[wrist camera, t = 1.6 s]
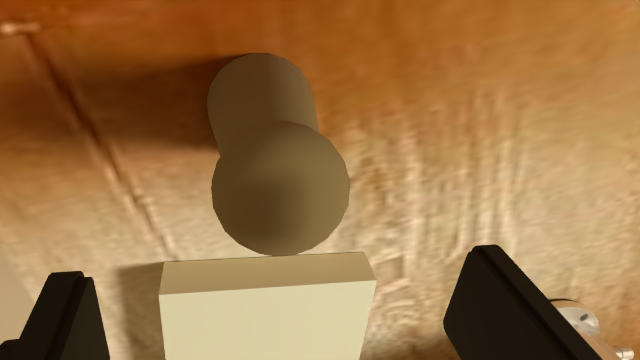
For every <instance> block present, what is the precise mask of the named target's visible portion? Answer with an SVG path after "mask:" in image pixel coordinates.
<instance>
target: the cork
mask: <svg viewBox="0 0 640 360" xmlns="http://www.w3.org/2000/svg"><path fill="white" fill-rule="evenodd" d="M207 110H208V118H209V121H210V124H211V127H212V131H213V134H214V137H215V140H216V143H217V147H218V150H219V153H220V156H221V157H220V158H219V160H218V161H217V164H216V168H215V171H214V175H213V178H212V187H211V190H212V200H213V208H214V210H215V212H216V215H217V217H218V219H219V220H220V222H221V224H222V226H223V228H224V230H225V232H227V233H228V234H229V235H230V236H231V237H232V238H233V239H234V240H235V241H236V242H237V243H239V244H240V245H242V246H244V247H246V248H248V249H250V250H253V251H255V252H257V253H259V254H265V255H271V256H286V255H295V254H298V253H301V252H304V251H307V250H309V249H312V248H314V247H315V246H317V245H318V244H320V243H321V242H323V241H324V240H326V239H327V238H328V237H329V235H330V234H331V233H332V232H333V231H334V230H335V229H336V228H337V226H338V225H339V223H340V222H341V220H342V217H343V215H344V213H345V211H346V209H347V206H348V201H349V191H350V182H349V176H348V173H347V169H346V166H345V162H344V160H343V159H342V157H341V155H340V154H339V153H338V151H337V150H336V148H335V147H334V146H333V144H332V143H331V142H330V140H328V139H327V138H325V137H324V136H322V135H321V134H320V133H319V127H318V122H317V117H316V111H315V106H314V100H313V96H312V93H311V89H310V86H309V82H308V81H307V79H306V78H305V77H304V75H303V74H302V72H301V71H300V69H299V68H297V67H296V66H294V65H293V64H292V63H290V62H289V61H288V60H286V59H284V58H281V57H278V56H275V55H272V54H269V53H251V54H248V55H245V56H242V57H239V58H236V59H234V60H232V61H231V62H230V63H228V64H227V65H226V66H224V67H223V68H222V69H220V71H219V72H218V74H217V75H216V77H215V78H214V80H213V81H212V83H211V84H210V88H209V92H208V96H207Z"/></svg>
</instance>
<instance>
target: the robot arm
mask: <svg viewBox="0 0 640 360" xmlns="http://www.w3.org/2000/svg"><path fill="white" fill-rule="evenodd" d="M443 325H444V330H445V332H446V334H447V336H448V337H449V339H450V341H451V343H452V344H453V346H454V348H455V349H456V351H457V353H458V355H459V356H460V358H461V360H631V359H632V358H633V356H634V354H633V350H632V349H631V348H630V347H629V346H628V345H617V346H613V347H609V345H608V344H607V343H606V342H605V341H604V340H603V339H602V338H601V337H600V336H599V335H598V334H599V322H598V320H597V317H596V316H595V315H594V314H593V313H592V312H591V311H590V310H589V309H588V308H587V307H586V306H584V305H583V304H581V303H578V302H574V301H564V300H563V301H552V302H550V301H549V300H548V299H547V298H546V297H545V296H544V294H543V293H542V292H541V291H540V290H539V289H538V288H537V287H536V286H535V285H534V283H533V282H532V281H531V280H530V279H529V278H528V277H527V276H526V275H525V274H524V272H523V271H522V270H521V269H520V268H519V267H518V266H517V265H516V264H515V263H514V261H513V260H512V259H511V258H510V257H509V256H508V255H507V254H506V253H505V252H504V250H503V249H502V248H501V247H499V246H498V245H480V246H475V247H474V248H473V249H472V251H471V252H469V253H468V254H467V257H466V259H465V262H464V265H463V267H462V270H461V273H460V276H459V278H458V281H457V284H456V287H455V289H454V292H453V295H452V297H451V300H450V303H449V306H448V308H447V311H446V314H445V316H444V320H443ZM0 360H110V355H109V350H108V346H107V341H106V336H105V332H104V327H103V322H102V318H101V313H100V308H99V304H98V299H97V294H96V290H95V285H94V281H93V278H92V277H84V274H83V272H82V271H71V272H56V273H51V274H50V275H49V276H48V278H47V280H46V282H45V284H44V287H43V289H42V291H41V293H40V295H39V297H38V299H37V301H36V304H35V306H34V308H33V310H32V312H31V314H30V316H29V319H28V321H27V323H26V325H25V327H24V329H23V332H22V334H21V336H20V338H19V339H14V340H7V341H4V342H3V343H2V344H1V345H0Z"/></svg>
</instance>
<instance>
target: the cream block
mask: <svg viewBox="0 0 640 360" xmlns="http://www.w3.org/2000/svg"><path fill="white" fill-rule="evenodd" d="M376 283H377V279H376V277H375V274H374V272H373V270H372V268H371V266H370V264H369V261H368V259H367V257H366V255H365V253H364V252H355V253H335V254H316V255H296V256H276V257H257V258H237V259H217V260H198V261H178V262H164V266H163V272H162V278H161V283H160V289H159V304H160V313H161V322H162V331H163V341H164V350H165V359H166V360H359V357H360V353H361V349H362V344H363V340H364V336H365V331H366V327H367V322H368V318H369V314H370V309H371V305H372V300H373V296H374V292H375V287H376Z"/></svg>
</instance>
